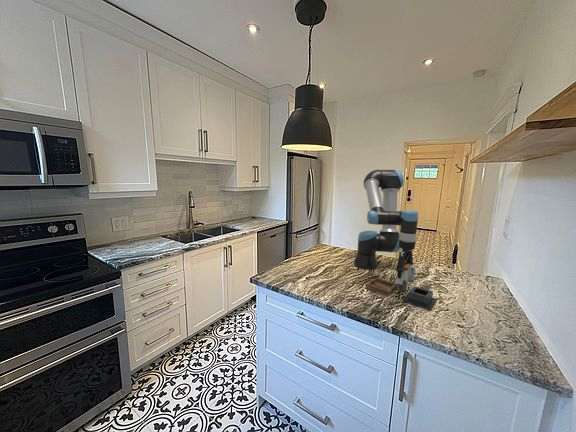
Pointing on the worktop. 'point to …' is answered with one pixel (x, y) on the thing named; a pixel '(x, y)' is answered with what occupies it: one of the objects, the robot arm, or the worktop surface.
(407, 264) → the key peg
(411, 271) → the medicine box
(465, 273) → the worktop surface
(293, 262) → the worktop surface
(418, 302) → the block
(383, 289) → the tray
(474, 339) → the worktop surface
